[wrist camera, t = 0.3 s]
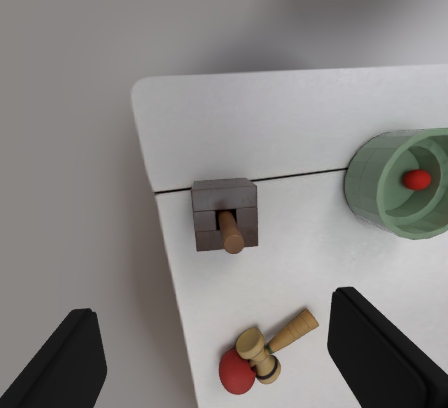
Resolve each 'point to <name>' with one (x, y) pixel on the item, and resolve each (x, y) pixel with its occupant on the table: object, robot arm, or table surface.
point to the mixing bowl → (401, 183)
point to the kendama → (260, 355)
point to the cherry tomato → (417, 179)
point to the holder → (219, 200)
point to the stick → (230, 232)
